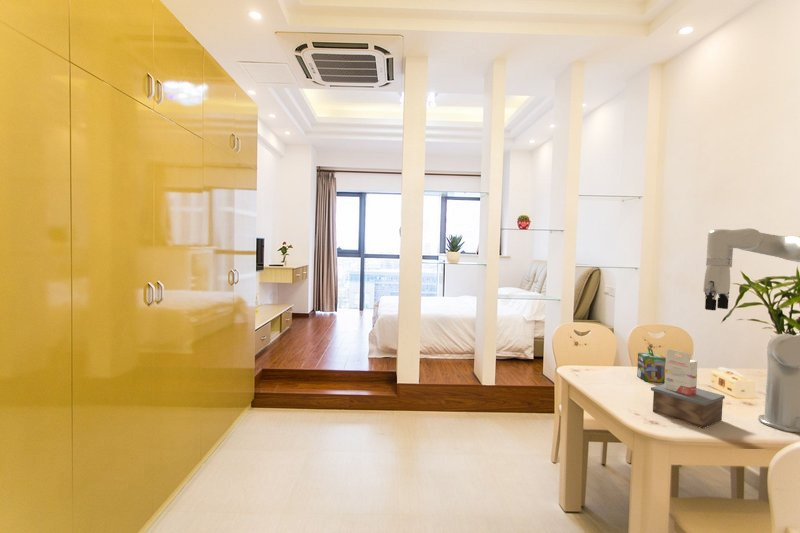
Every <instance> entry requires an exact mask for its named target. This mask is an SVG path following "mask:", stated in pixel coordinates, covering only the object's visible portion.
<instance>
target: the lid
mask: <svg viewBox="0 0 800 533" xmlns="http://www.w3.org/2000/svg"><path fill="white" fill-rule="evenodd" d="M650 391H652V392H654V391H655V392H659V393H662V394H665V395H669V396H672V397H676V398H679V399H682V400H686V401H689V402H692V403H696V404H699V405H703V406H706V405H708V404H711V403H714V402H716V401H719V400H722V399H723V400H724V399H725V398H726V396H725V395H724V394H720V393H716V392H713V391H708V390H705V389H701V388H697V387H696V394H693V395H685V394H682V393H679V392H675V391H672V390H668V389H665V383H662V384H657V385H655V386H652V387H650Z"/></svg>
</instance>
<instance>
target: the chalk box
mask: <svg viewBox="0 0 800 533" xmlns="http://www.w3.org/2000/svg"><path fill="white" fill-rule="evenodd" d="M653 352H654V351H653V348H651V347H648V346H647V352H638V353H637V375H636V376H637V377H638V378H639V379H640V380H642V381H643V382H646V383H647V382H648V383H649V382H650V383H663V384H665V364H666V356H663V355H661V354H659V353H653Z"/></svg>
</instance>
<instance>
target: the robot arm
mask: <svg viewBox="0 0 800 533" xmlns="http://www.w3.org/2000/svg"><path fill="white" fill-rule="evenodd" d="M706 243H707V246H706V248H707V249H706V262H705V264H706V265H705V267H706V268H705V273H704V280H703V293H704V295H705V297H704V298H705V300H704V301H705V303H704V309H705V310H706V311H716V310H717V309H720V310H721V309H722V310H728V309H729V298H730V288H731V268H733V254H734V249H736V250H737V249H738V250H741V251H747V252H752V253H754V254H755V253H756V254H760V255H767V256H770V257H775V258H780V259H783V260H786V261H790V262H796V263H800V236H787V235H778V234H776V235H775V234H772V233H765V232H760V231H759V230H757V229H755V228H738V229H721V228H720V229H712V230H709V231H708V233H707V242H706ZM717 295H718V297H717ZM716 298H717V299H716ZM766 350H767V351H766V352H767V353H766V354H767V370H766V382H765V383H766V384H765V402H764V403H765V404H764V414H760V415H758V421H759V422H760V423H762V424H763V425H766V426H768V427H771V428H773V429H777V430H781V431H785V432H791V433H797V434H798V433H800V333H797V334H794V335H793V334H790V333H778V334H775V335H774V336H772V337H771V338H770V339H769V340H768V342H767V346H766Z"/></svg>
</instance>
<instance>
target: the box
mask: <svg viewBox="0 0 800 533" xmlns="http://www.w3.org/2000/svg"><path fill="white" fill-rule="evenodd" d="M723 402H724V399H722V400H719V401H716V402H714V403H711V404H708V405H706V406H703V405H699V404H696V403H692V402H689V401H686V400H682V399H679V398H676V397H672V396H669V395H665V394H662V393H659V392H655V391H653V399H652V413H654V414H658V415H660V416H664V417H667V418H670V419H674V420H676V421H679V422H682V423H685V424H688V425H691V426H693V427H697V428H699V427H700V429H705V427H706V428H708V427H710V426H713V425H715V424H717V423H719V422H721V421H722V418H723Z"/></svg>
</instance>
